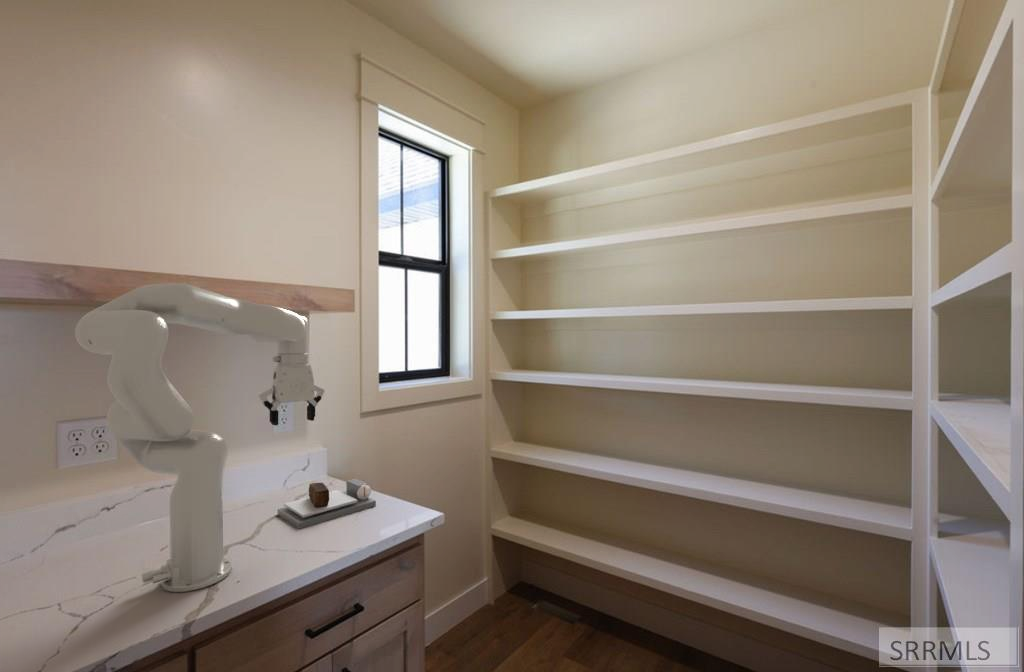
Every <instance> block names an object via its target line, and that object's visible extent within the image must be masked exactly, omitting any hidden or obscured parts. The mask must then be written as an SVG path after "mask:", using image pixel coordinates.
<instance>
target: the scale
mask: <svg viewBox="0 0 1024 672" xmlns="http://www.w3.org/2000/svg"><path fill="white" fill-rule="evenodd" d="M345 485H346V490H345V491H340V490H338V489H335V490H331V491H329V502H328V506H323V507H318V508H315V506H314V505H313V503H312V501H311V500H310V497H309V496H308V497H304V498H300V499H297V500H292V501H288V502H285V503H283V504H284V505H283V507H281V508H280V507H279V508H278V509H277V515H278V516H279V517H280V518H282V519H284V520H286V521H287V522H289V523H290V524H292V525H293V526H294V527H296V528H297V529H299V530H300V529H304V528H306V527H310V526H313V525H317V524H319V523H323V522H326V521H329V520H332V519H337V518H340V517H343V516H346V515H350V514H353V513H356V512H359V511H363V510H366V509H369V508H373V507H376V505H377V501H376V499H373V498H371V497H370V495H371V493H372V489H371V487H370V485H369V483H367V482H366V481H362V480H360V479H358V478H353V479H347V480H346V484H345Z"/></svg>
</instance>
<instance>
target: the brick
mask: <svg viewBox="0 0 1024 672" xmlns="http://www.w3.org/2000/svg"><path fill="white" fill-rule="evenodd" d="M329 492H330V491H329V488H328V487H327V486H326V484H324V482H312V483H309V486H308V497H310V500H311V501H312V503H313V505H314V506H315V508H318V507H323V506H328V502H329Z"/></svg>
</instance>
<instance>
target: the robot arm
mask: <svg viewBox="0 0 1024 672" xmlns="http://www.w3.org/2000/svg"><path fill="white" fill-rule="evenodd" d="M308 323H309V322H308V319H307V317H305V316H304V315H299V314H297V313H296V312H293V311H291V310H288V309H285V308H281V307H278V306H273V305H267V304H262V303H257V302H252V301H248V300H244V299H239V298H233V297H230V296H227V295H223V294H221V293H217V292H214V291H211V290H208V289H204V288H201V287H198V286H195V285H193V284H192V285H191V284H187V283H181V282H171V283H169V282H167V283H166V282H165V283H151V284H149V283H148V284H144V285H142V286H139V287H137V288H134V289H133V290H130V291H128V292H126V293H124V294H122V295H120V296H118V297H116V298H115V299H113V300H111V301H108V302H106V303H104V304H103V305H102V304H101V306H98V307H96V308H95V309H92V310H90V311H89V312H87V313H86V314H85V315H83V316H82V317H81V318H80V320H79V321H78V322H77V324H76V326H75V330H74V336H75V339H76V341H77V344H78V345H80V347H81V348H82V349H84V350H86V351H88V352H90V353H93V354H97V355H107V356H108V355H112V356H111V361H110V365H109V367H108V368H109V369H108V374H107V386H108V388H109V391H110V393H111V394H112V396H114V399H115V401H114V402H113V403H112V404H111V405H110V407H109V409H108V411H107V414H106V415H107V416H106V425H107V429H108V430H109V433H110V434H111V436H112V437H113V438H114V439H115V440H116V442H118V444H119V445H120V446H121V447H123V449H124V450H125V451H126V452H127V453H128V454H129V455H130V456H132V458H133V459H134V460H135V461H136V462H137V463H138V464H139V465H140V466H142V467H143V468H144V469H146V470H147V471H149V472H152V473H158V474H166V475H174V476H177V479H176V482H175V484H174V486H173V488H172V490H171V493H170V495H169V496H170V497H169V538H170V539H169V543H170V545H169V546H170V547H169V548H170V549H169V551H170V559H166V563H165V564H164V565H161V567H160V568H158V569H157V568H156V569H152V570H149V571H145V572H142V575H141V580H142V583H143V584H145V583H148V582H151V581H152V584H153V585H154V584H156V583H159V582H160V583H161V587H162V589H163V590H165V591H167V592H170V593H171V592H173V593H179V592H180V593H185V592H190V591H195V590H200V589H203V588H207V587H209V586H212V585H214V584H216V583H218V582H220V581H222V580H223V579H224V578H226V577H227V576H228V575H229V574H230V573H231V572H232V570H233V568H232V566H233V565H232V562H231V560H228V559H226V558H224V506H223V505H224V502H223V501H224V500H223V496H224V495H223V490H224V489H223V484H224V483H223V482H224V474H225V473H224V472H225V467H226V462H227V457H228V445H227V442H226V440H225V439H224V438H223V437H222V436H221V435H220V434H219V433H217V432H213V431H210V430H205V429H204V430H203V429H193V428H194V425H195V414H194V412H193V411H192V409H191V406H190V405H189V404H188V403H187V402H186V400H185V399H184V398H183V396H181V394H180V393H179V392H178V390H177V389H176V388H175V387H174V385H173V384H172V382H170V380H169V379H168V377H167V376H166V374H165V372H164V370H163V365H162V360H163V355H164V351H165V348H166V346H167V343H168V340H169V333H170V332H169V326H168V324H175V325H176V324H177V325H183V326H186V327H191V328H192V327H193V328H197V329H202V330H206V331H209V332H214V333H217V334H222V335H223V334H224V335H234V336H235V335H236V336H248V337H250V338H251V339H252V340H254V341H256V342H260V343H277V354H276V356H272V362H273V363H274V362H275V363H277V365H275V367H274V371H273V376H272V381H271V382H272V383H271V384H272V385H271V387H270V388H268V389H267V390H265V391H263V392H261V393H260V394H258V398H259V399H260V401H261V403H262V405H263V406H264V407H265V408H267V409H268V410H269V422H270V425H273V426H278V425H279V410H277V409H278V407H280V405H281V404H287V403H288V404H289V403H298V402H306V403H307V404H308V405H306V419H307V420H308V421H312V422H313V421H315V418H316V406H318V404H319V402H320V401H321V400H322V397H323V395H324V393H325V389H324V388H322V387H319V386H316V385H315V379H314V374H313V368H312V365H311V364H309V359H308V358H309V354H308V349H309V348H308V346H309V345H308V343H309V340H308V338H309V334H308V332H309V331H308V330H309V329H308V327H309V325H308ZM315 392H316V395H315ZM269 396H271V399H272V401H271V402H270V401H269V400H268V397H269Z"/></svg>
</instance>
